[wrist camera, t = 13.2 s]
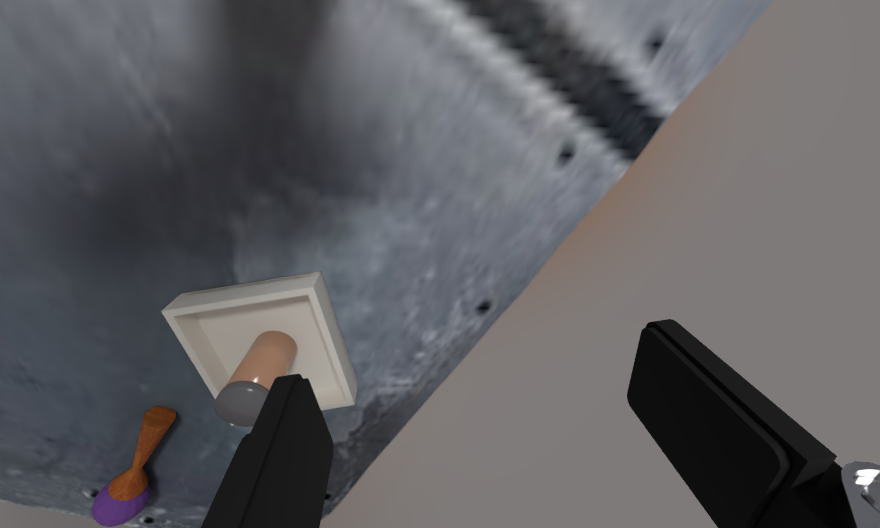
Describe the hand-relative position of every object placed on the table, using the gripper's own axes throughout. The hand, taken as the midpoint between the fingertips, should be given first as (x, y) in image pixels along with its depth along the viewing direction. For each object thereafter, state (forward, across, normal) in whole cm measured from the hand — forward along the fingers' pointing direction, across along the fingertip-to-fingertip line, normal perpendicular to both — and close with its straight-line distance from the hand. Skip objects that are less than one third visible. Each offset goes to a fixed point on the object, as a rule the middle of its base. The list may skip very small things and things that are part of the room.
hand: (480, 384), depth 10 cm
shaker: (+27, +20, +18) cm, 38 cm away
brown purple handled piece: (+28, +44, +34) cm, 62 cm away
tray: (+28, +20, +18) cm, 39 cm away
